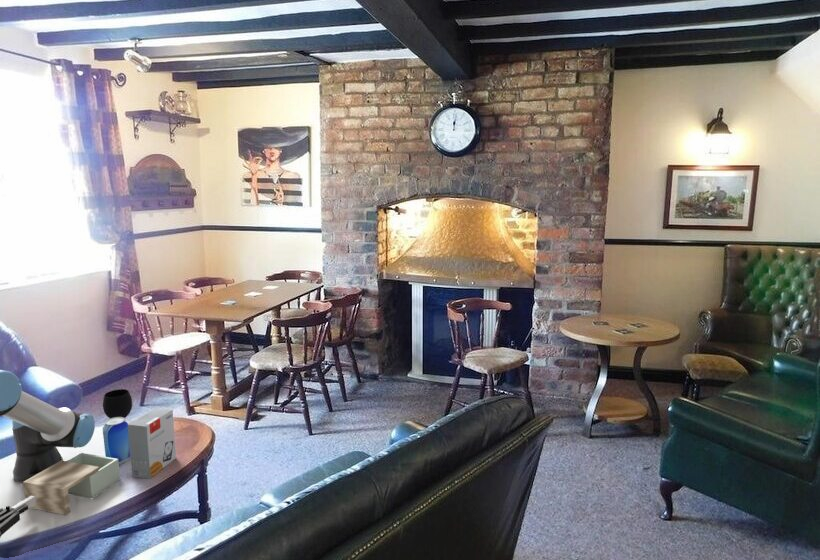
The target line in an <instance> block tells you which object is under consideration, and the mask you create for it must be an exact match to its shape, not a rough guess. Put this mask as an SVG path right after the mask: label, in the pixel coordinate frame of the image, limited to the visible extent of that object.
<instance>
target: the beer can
mask: <svg viewBox="0 0 820 560" xmlns="http://www.w3.org/2000/svg"><path fill="white" fill-rule="evenodd" d="M125 419H126V418H123V417H115V418H111V419H110V418H108V419H107V420H105V422H104V425H103V427H102V435H103V436H102V439H103V444H104V455H105V456H104V457H110V458H116V459H118V461H119V465H122V464H124V463H127V462H128V461H129V459H130V448H129V436H128V424H129V423H128V421H126V420H125Z"/></svg>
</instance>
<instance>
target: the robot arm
mask: <svg viewBox="0 0 820 560" xmlns="http://www.w3.org/2000/svg"><path fill="white" fill-rule="evenodd" d="M20 382H21V381H20V378H19V376H17V375H16V374H15V373H14V372H12V371H9V370H3V369H0V417H4V418H6V419H8V420H11V422H12V423H11V424H12V425H11V426H12V435H13V440H14V447H15V453H16V458H15V463H14V467H13V470H12V475H13V480H15V481H16V482H20V483H23V482H24V481H26V480H27V479H29V478H31V477H33V476H35V475H36V474H38V473H40V472H42V471H43V470H45V469H47V468H49V467H51V466H52V465H54V464H56V463H58V462H60V461H61V460H62V461H64V458H63V456H62V455H61V453H60V452H59V449H58V448H74V449H76V448H84V447H86V446H87V445H88V443H90V441H91V440H92V437H93V435H94V432H95V426H96V425H95V424H96V422H95V418H94V416H93V415H92V414H90V413H86V412H84V413H80V412H77V411H74V410H72V409H70V408H68V407H59V408H57V407H55V406H53V405H51V404H49V403H47V402H45V401H43V400H41V399H39V398H37V397H35V396H34V395H32V394H29V393H27V392H25V391H23V389H22V387H23V386H22V384H21V383H20ZM34 505H36V499H35V496H30V497H28V498H25V499H23V500H22V501H19V502H18V503H16V504H15V505H12V506H10V505H6V506H5V509H4V508H3V507H2V508H0V538H1V537H2V535H4V534H5V533H6V532H7V531H8V530H10V529H11V528H12V527H13V526H15V525H16V524H17V523H18V522H19V521H21V516H20V515H21V514H24V513H25V512H26V511H28V510H29V509H32V508H31V507H33V506H34Z"/></svg>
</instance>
